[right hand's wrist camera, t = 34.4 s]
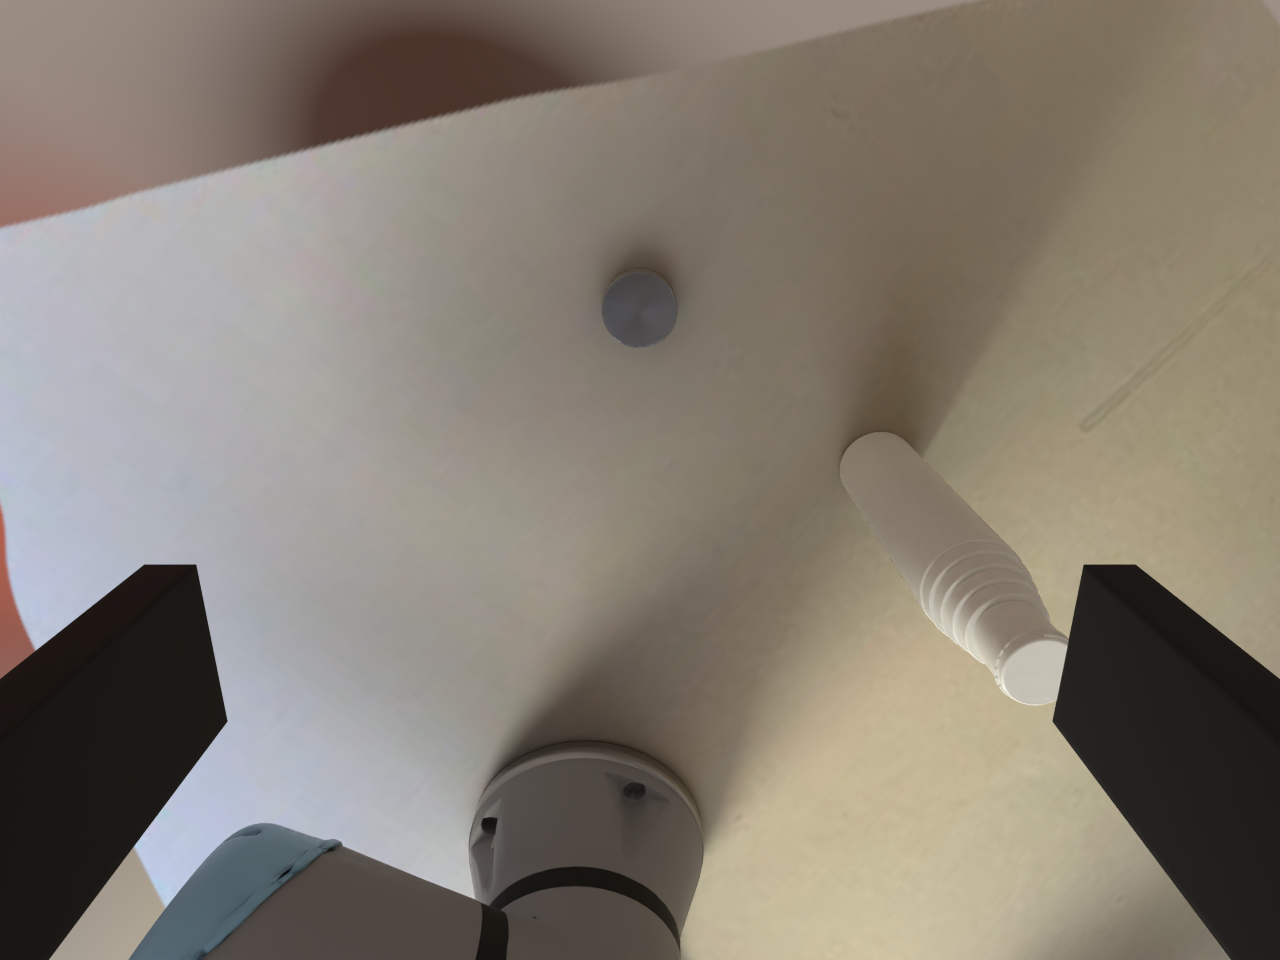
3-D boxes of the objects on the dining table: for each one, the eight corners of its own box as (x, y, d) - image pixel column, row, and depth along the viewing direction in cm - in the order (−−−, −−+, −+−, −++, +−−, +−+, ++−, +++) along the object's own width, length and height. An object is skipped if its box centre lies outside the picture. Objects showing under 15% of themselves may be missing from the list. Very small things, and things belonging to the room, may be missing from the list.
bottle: (907, 505, 48) (1087, 731, 29) (833, 499, 48) (964, 722, 29) (921, 434, 47) (1121, 621, 27) (845, 428, 47) (992, 612, 27)
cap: (677, 270, 44) (679, 274, 42) (673, 342, 45) (674, 349, 43) (604, 266, 44) (603, 270, 42) (602, 339, 45) (600, 346, 43)
